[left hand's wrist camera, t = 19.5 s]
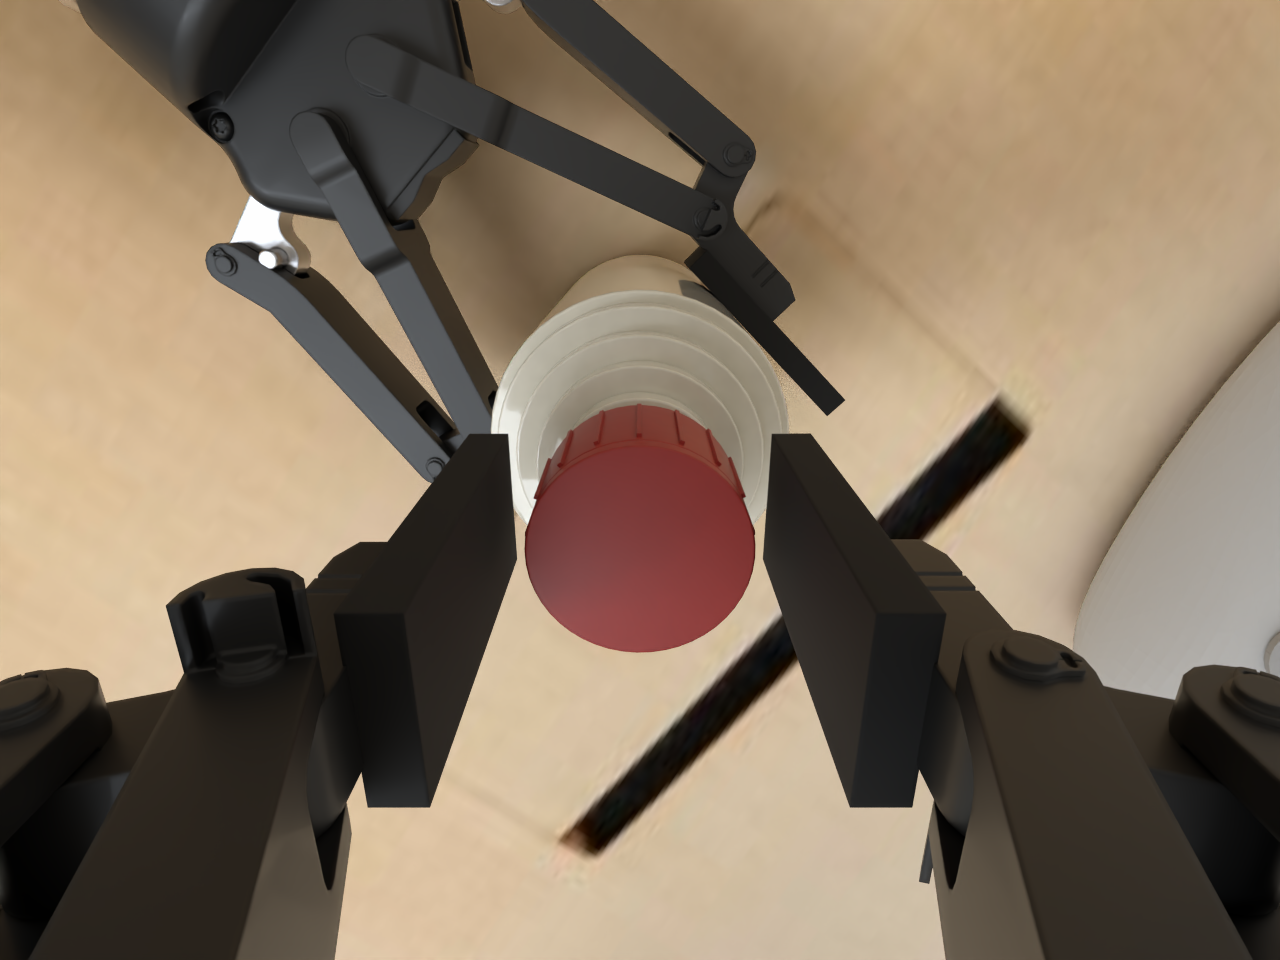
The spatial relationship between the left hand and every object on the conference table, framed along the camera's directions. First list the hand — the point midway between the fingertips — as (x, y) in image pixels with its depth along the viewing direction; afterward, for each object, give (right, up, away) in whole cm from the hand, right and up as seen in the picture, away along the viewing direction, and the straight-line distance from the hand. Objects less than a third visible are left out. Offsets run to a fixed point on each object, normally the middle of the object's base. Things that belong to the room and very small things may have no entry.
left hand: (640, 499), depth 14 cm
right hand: (+3, +1, +11) cm, 12 cm away
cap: (0, -1, -2) cm, 2 cm away
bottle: (0, +6, +16) cm, 17 cm away
